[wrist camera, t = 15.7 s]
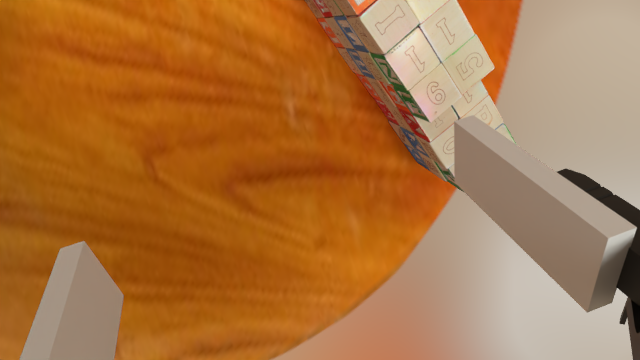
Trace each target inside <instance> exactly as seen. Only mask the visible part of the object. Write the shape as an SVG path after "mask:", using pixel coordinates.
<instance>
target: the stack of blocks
mask: <svg viewBox="0 0 640 360" xmlns="http://www.w3.org/2000/svg"><path fill="white" fill-rule="evenodd" d="M305 1H306V3H307V4H308V6H309V7H310V9H311V10H312V12H313V13H314V15H315V16H316V18H317V21H318V22H319V24H320V25H321V26H322V28H323V29H324V31H325V32H326V34H327V35H328V36H329V38H330V39H331V41H332V42H333V44H334V45H335V46H336V48H337V50H338V51H339V53H340V54H341V56H342V57H343V58H344V60H345V61H346V63H347V64H348V66H349V67H350V68H351V70H352V71H353V72H354V73H356V75H357V76H358V78H359V79H360V81H361V82H362V83H363V85H364V86H365V88H366V89H367V91H368V92H369V94H370V95H371V96H372V97H373V98H374V100H375V101H376V103H377V104H378V105H379V107H380V108H381V110H382V111H383V113H384V114H385V115H386V117H387V118H388V119H389V120H388V122H389V123H390V125H391V126H392V128H393V129H394V131H395V132H396V133H397V135H398V136H399V138H400V139H401V141H402V142H403V143H404V144H405V146H406V147H407V149H408V150H409V151H410V153H411V154H412V156H413V157H414V158H415V160H416V161H417V162H418V163H419V164H420V165H422V166H424V167H425V168H427V169H428V170H429V171H431V172H432V173H433V174H435V175H436V176H438V177H439V178H441V179H442V180H444V181H448V182H449V183H451V184H452V185H454V186H455V187H457V188H458V189H460V190H461V191H463V190H462V189H461V188H460V187H459V186H458V185H457V184H456V183H455V175H454V121H457V120H460V119H463V118H466V117H469V116H472V115H474V116H475V117H477V118H478V119H480V120H481V121H483V122H484V123H486V124H487V125H489V126H490V127H491V128H493V129H494V130H496V131H497V132H499V133H500V134H502V135H503V136H505V137H506V138H507V139H509V140H510V141H512V142H513V143H515V141H514V139H513V137H512V136H511V134H510V132H509V130H508V129H507V127H506V125H505V124H503V122H504V121H503V119H502V117H501V115H500V114H499V112H498V110H497V108H496V106H495V105H494V103H493V101H492V99H491V98H490V96H489V95H488V92H487V90H486V88H485V86H484V85H483V83H482V81H481V79H482V78H484V77H485V76H486V75H487V74H489V73H490V72H491V71H492V70H494V68H495V67H494V65H493V63H492V62H491V60H490V58H489V56H488V54H487V53H486V51H485V49H484V47H483V45H482V43H481V42H480V40H479V38H478V36H477V35H476V34H475V33H474V31H473V29H472V27H471V25H470V23H469V21H468V20H467V18H466V16H465V14H464V13H463V11H462V9H461V7H460V5H459V3H458V1H457V0H305ZM515 144H516V143H515ZM516 145H517V144H516ZM463 192H464V191H463Z"/></svg>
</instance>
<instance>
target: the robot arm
mask: <svg viewBox="0 0 640 360" xmlns="http://www.w3.org/2000/svg"><path fill="white" fill-rule="evenodd" d="M454 175H455V183H456V184H457V185H458V186H459V187H460V188H461V189H462V190H463V191H464V192H465V193H466V194H467V195H468V196H469V197H470V198H471V199H472V200H473V201H474V202H475V203H476V204H477V205H478V206H479V207H480V208H481V209H482V210H483V211H484V212H485V213H486V214H487V215H488V216H489V217H490V218H491V219H492V220H493V221H495V223H497V224H498V225H499V226H500V227H501V228H502V229H503V230H504V231H505V232H506V233H507V234H508V235H509V236H510V237H511V238H512V239H513V240H514V241H515V242H516V243H517V244H518V245H519V246H520V247H521V248H522V249H523V250H524V251H525V252H526V253H527V254H528V255H529V256H530V257H531V258H532V259H533V260H534V261H535V262H536V263H537V264H538V265H539V266H540V267H541V268H543V270H544V271H545V272H546V273H548V275H549V276H550V277H552V278H553V279H554V280H555V281H556V282H557V283H558V284H559V285H560V286H561V287H562V288H563V289H564V290H565V291H566V292H567V293H568V294H569V295H570V296H571V297H572V298H573V299H574V300H575V301H576V302H577V303H578V304H579V305H580V306H581V307H582V308H583V309H584V310H585V311H586V312H590V311H592V310H594V309H597V308H600V307H602V306H605V305H607V304H610V303H612V301H613V298H614V295H615V292H616V289H617V288H618V289H619V290H621V291H622V292H623V293H624V294H626V295H627V296H628V298H627V301H626V304H625V307H624V309H623V312H622V315H621V318H620V324H625V322H626V319H627V317H628V325H629V332H630V340H631V347H632V355H633V360H640V210H639V209H637V208H635V207H634V206H632V205H631V204H629V203H628V202H626V201H625V200H623V199H622V198H620V197H618V196H617V195H613V193H612V192H611V191H609V190H608V189H606V188H604V187H601V186H600V184H598V183H597V182H595V181H594V180H592V179H590V178H589V177H587V176H586V175H584V174H581V173H578V172H574V171H572V170H568V169H564V170H561V171H558V172H556V171H554V170H553V169H551V168H550V167H548V166H547V165H545V164H544V163H542V162H541V161H540V160H538V159H537V158H535V157H534V156H532V155H531V154H529V153H528V152H526V151H525V150H523V149H522V148H521V147H519V146H518V145H516V144H515V143H513V142H512V141H510V140H509V139H507V138H506V137H505V136H503V135H502V134H500V133H499V132H497V131H496V130H494V129H493V128H491V127H490V126H489V125H487V124H486V123H484V122H483V121H481V120H480V119H478V118H477V117H475V116H474V115H472V116H469V117H466V118H463V119H460V120H457V121H454ZM123 298H124V295H123V294H122V292H121V291H120V289H119V288H118V287H117V285H116V284H115V282H114V281H113V280H112V278H111V277H110V276H109V274H108V273H107V271H106V270H105V269H104V267H103V266H102V265H101V263H100V262H99V260H98V259H97V258H96V256H95V255H94V253H93V252H92V251H91V249H90V248H89V247H88V245H87V244H86V242H85V241H82V242H79V243H76V244H73V245H70V246H67V247H64V248H61V249H60V251H59V253H58V256H57V259H56V261H55V264H54V267H53V270H52V272H51V275H50V278H49V281H48V283H47V286H46V289H45V291H44V294H43V297H42V300H41V302H40V305H39V308H38V311H37V313H36V316H35V319H34V321H33V324H32V327H31V330H30V332H29V335H28V338H27V341H26V343H25V346H24V349H23V351H22V354H21V357H20V360H114V357H115V350H116V344H117V337H118V331H119V324H120V318H121V311H122V305H123Z"/></svg>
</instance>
